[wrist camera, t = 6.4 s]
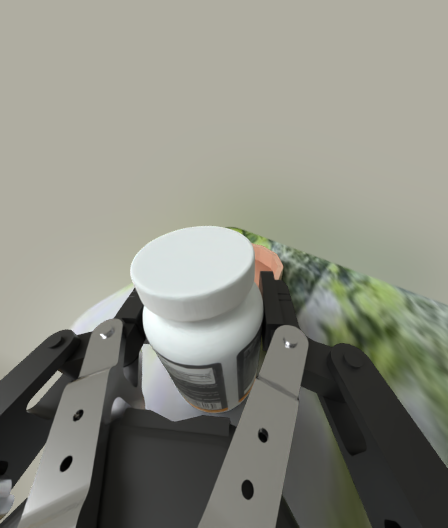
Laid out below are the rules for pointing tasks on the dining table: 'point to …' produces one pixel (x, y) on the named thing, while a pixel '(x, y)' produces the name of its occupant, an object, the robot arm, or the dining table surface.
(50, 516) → the robot arm
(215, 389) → the pill bottle
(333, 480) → the dining table surface
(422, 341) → the dining table surface
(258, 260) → the bowl
